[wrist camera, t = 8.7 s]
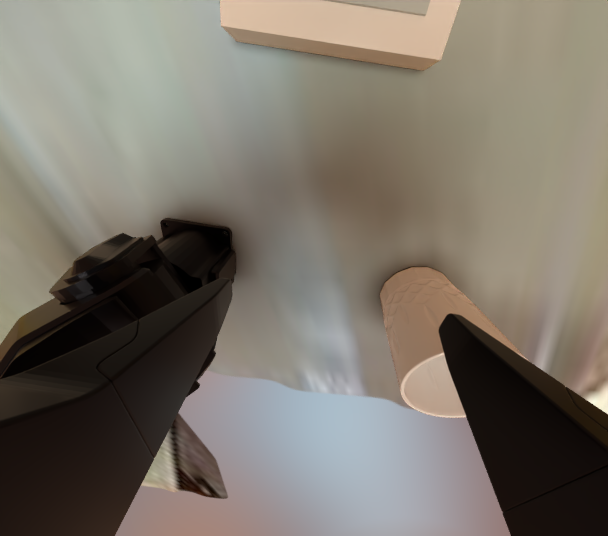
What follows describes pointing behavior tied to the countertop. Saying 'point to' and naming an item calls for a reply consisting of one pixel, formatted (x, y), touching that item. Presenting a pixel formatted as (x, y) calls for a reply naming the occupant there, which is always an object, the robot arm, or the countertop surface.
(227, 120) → the countertop surface
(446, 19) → the base
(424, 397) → the beige textured cup
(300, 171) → the countertop surface
